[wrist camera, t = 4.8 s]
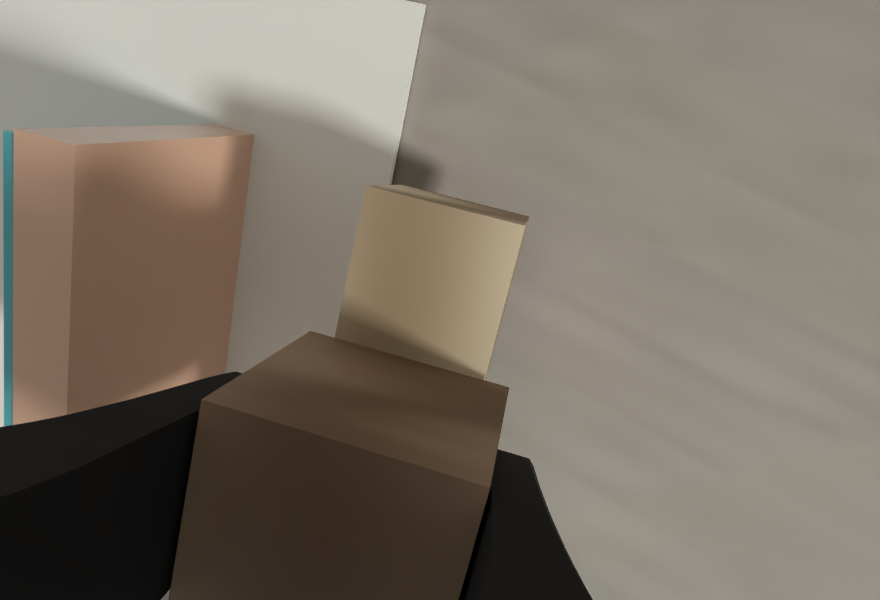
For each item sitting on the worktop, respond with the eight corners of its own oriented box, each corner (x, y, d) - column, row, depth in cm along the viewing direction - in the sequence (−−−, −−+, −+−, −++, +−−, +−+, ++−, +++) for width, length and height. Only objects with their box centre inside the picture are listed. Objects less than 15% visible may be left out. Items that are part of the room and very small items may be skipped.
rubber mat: (426, 5, 15) (424, 4, 15) (323, 536, 20) (321, 540, 20) (-40, -96, 17) (-46, -98, 17) (-29, 422, 22) (-34, 425, 22)
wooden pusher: (551, 221, 14) (554, 259, 7) (446, 598, 16) (374, 896, 10) (382, 179, 15) (237, 177, 8) (302, 551, 17) (135, 803, 10)
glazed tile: (254, 134, 17) (76, 144, 11) (222, 397, 19) (63, 527, 13) (202, 121, 17) (-2, 124, 11) (178, 383, 20) (0, 505, 13)
